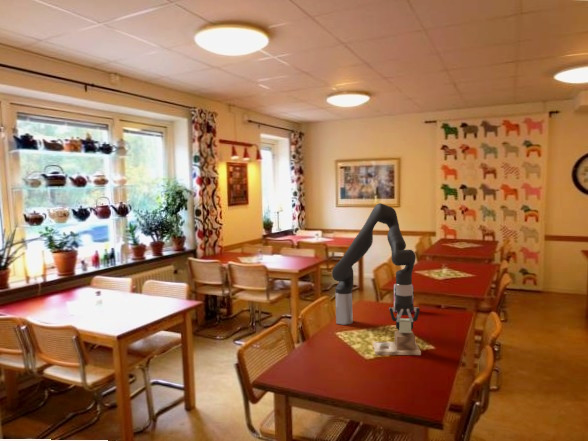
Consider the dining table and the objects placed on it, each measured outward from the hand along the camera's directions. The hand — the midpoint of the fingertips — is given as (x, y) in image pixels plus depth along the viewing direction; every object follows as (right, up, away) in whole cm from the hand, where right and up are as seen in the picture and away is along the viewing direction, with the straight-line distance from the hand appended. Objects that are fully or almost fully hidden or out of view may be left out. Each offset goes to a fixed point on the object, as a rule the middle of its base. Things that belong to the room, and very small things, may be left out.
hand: (404, 329), depth 190 cm
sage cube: (0, -1, 0) cm, 1 cm away
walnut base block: (0, -8, +1) cm, 8 cm away
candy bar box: (+15, -5, +59) cm, 61 cm away
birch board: (-4, -10, +1) cm, 10 cm away
